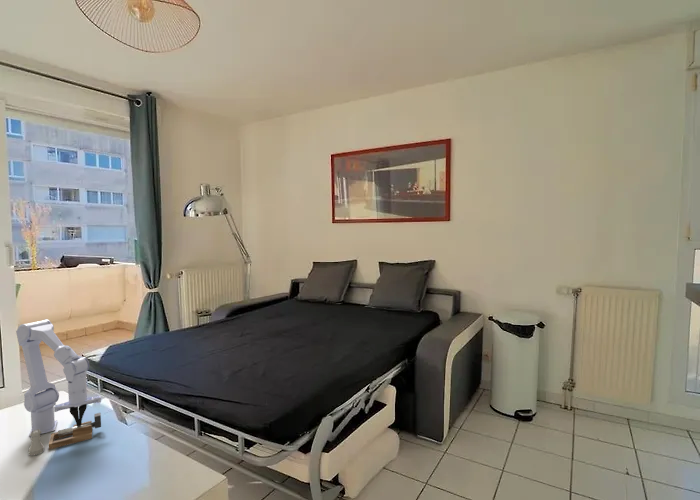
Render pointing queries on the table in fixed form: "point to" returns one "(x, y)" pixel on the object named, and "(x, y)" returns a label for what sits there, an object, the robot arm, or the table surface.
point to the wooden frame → (78, 436)
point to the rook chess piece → (36, 443)
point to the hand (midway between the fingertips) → (79, 424)
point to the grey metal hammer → (93, 424)
